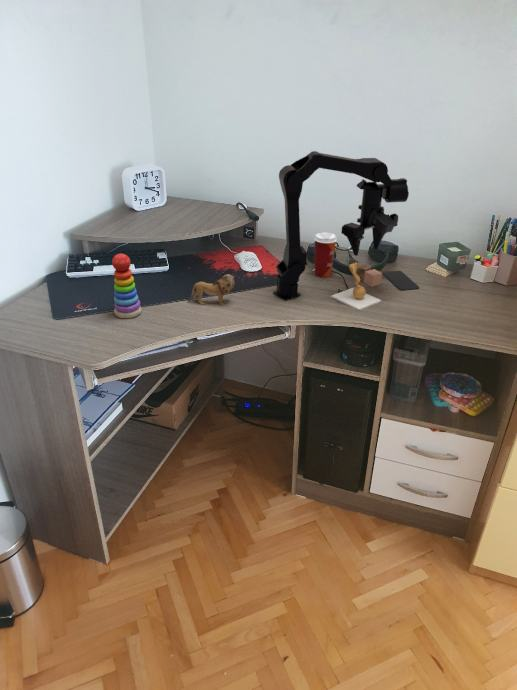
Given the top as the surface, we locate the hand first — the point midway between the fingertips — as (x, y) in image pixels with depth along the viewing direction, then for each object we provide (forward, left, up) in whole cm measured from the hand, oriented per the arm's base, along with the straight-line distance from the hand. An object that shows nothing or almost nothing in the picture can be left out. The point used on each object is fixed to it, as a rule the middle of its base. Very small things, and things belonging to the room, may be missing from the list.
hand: (365, 252), depth 172 cm
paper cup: (-17, -1, -13) cm, 22 cm away
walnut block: (-7, +8, -13) cm, 17 cm away
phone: (+3, +16, -14) cm, 21 cm away
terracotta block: (-2, +7, -13) cm, 15 cm away
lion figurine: (-22, -44, -13) cm, 51 cm away
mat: (+4, -7, -13) cm, 15 cm away
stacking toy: (-31, -68, -13) cm, 76 cm away
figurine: (+4, -7, -13) cm, 15 cm away
